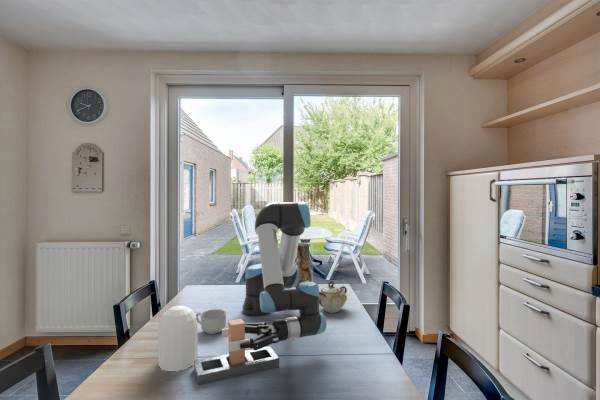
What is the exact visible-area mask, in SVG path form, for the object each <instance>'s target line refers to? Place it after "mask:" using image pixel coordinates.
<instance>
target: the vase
mask: <svg viewBox="0 0 600 400" xmlns="http://www.w3.org/2000/svg"><path fill="white" fill-rule="evenodd" d="M310 246H311V242H300V241H299V243H298V248H297V254H296V259H295V264H296V266H297V267H298V270H299V280H298V284H297V285H296V287H294V289H299V284H300V283H302V282H313V281H312V280H313V279H312V272H311V265H310V255H309V248H310Z"/></svg>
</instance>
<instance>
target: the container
mask: <svg viewBox="0 0 600 400" xmlns="http://www.w3.org/2000/svg"><path fill="white" fill-rule="evenodd" d="M198 339H199V338H198V322H197V319H196V313H195V312H194V311H193V310H192V309H191V308H189V307H188V306H185V305H174V306H171V307H170V308H169V309H167V310H166V311H164V312H163V314H162V315H161V317H160V318H159V322H158V327H157V346H158V347H157V349H158V353H157V354H158V367H159V366H160V368H161V369H164V370H168V371H176V372H180V371H179V370H182V371H184V370H183V369H185V370H188V369H190V368H192V367H194V366H193V365H194V361H196V360H199V354H198V352H199V350H198V345H199V344H198V343H199V342H198ZM191 366H192V367H191ZM189 367H190V368H189ZM160 368H159V369H160ZM187 368H188V369H187ZM161 369H160V370H161Z"/></svg>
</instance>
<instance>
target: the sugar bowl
mask: <svg viewBox="0 0 600 400" xmlns="http://www.w3.org/2000/svg"><path fill="white" fill-rule="evenodd" d="M347 291H348V289H347V287H346V286H344V285H342V286H340V287H337V286H335V282H334V281H332V280H331V281H329V282H328V286H326V287H324V288H322V289H321V290H319V295H320V296H319V306H321V308H322V309H323V310H324V311H325V312H327V313H331V314H332V313H338V312H341V310H342V308H343V307H344V305H345V304H346V302H347V297H348V295H347Z"/></svg>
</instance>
